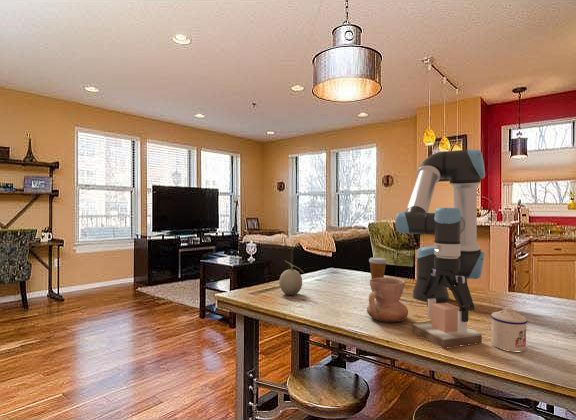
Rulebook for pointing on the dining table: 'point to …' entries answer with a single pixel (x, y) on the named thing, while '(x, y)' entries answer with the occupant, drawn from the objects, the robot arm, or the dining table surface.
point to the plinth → (446, 335)
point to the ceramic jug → (386, 300)
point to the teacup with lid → (508, 330)
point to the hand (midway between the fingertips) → (446, 324)
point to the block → (444, 317)
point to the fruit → (290, 281)
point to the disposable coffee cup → (377, 267)
